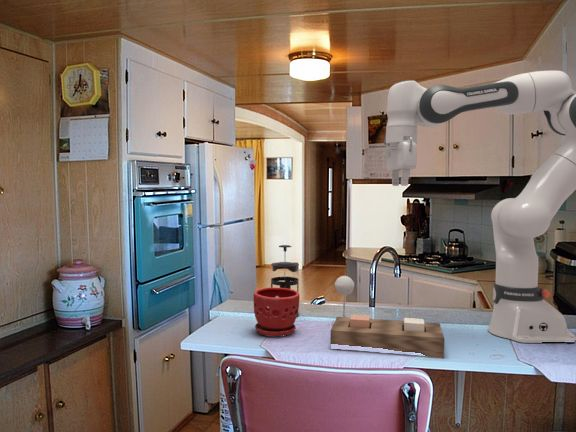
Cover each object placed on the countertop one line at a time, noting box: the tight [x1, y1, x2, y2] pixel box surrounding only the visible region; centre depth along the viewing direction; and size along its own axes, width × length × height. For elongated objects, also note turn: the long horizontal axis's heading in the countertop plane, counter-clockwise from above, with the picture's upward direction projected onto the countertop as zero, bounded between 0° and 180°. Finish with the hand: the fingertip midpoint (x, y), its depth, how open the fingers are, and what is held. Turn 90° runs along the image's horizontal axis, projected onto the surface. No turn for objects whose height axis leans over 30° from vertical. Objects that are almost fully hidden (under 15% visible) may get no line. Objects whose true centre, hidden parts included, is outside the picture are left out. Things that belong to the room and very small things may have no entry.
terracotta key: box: [350, 314, 371, 329], centre depth 133 cm, size 5×5×4 cm
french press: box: [270, 244, 300, 318], centre depth 161 cm, size 12×9×23 cm
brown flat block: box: [329, 316, 445, 359], centre depth 132 cm, size 28×14×5 cm, turn 78°
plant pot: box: [253, 286, 300, 337], centre depth 142 cm, size 13×13×12 cm
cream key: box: [403, 317, 425, 332], centre depth 130 cm, size 5×5×4 cm
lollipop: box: [334, 275, 355, 317], centre depth 151 cm, size 6×6×15 cm
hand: (399, 185), depth 145 cm, fingers open, 8 cm apart
